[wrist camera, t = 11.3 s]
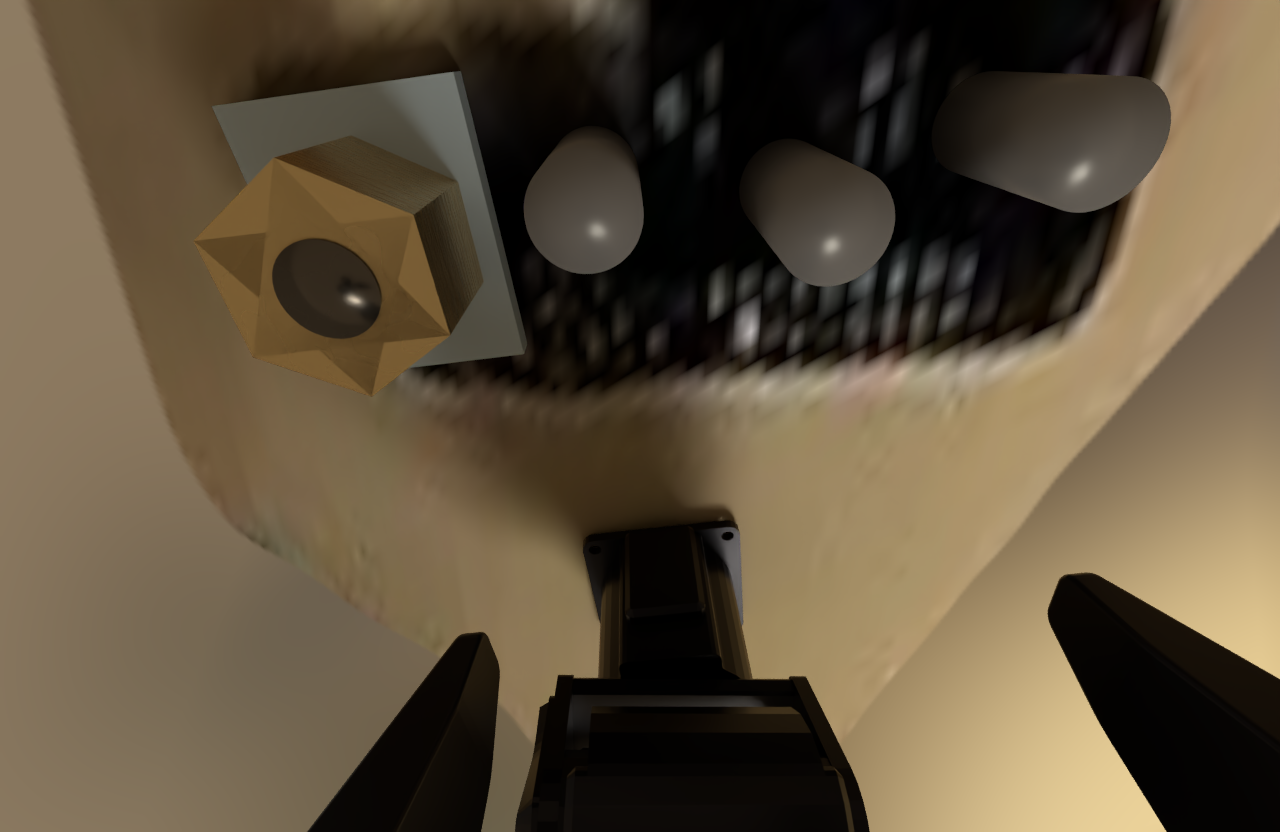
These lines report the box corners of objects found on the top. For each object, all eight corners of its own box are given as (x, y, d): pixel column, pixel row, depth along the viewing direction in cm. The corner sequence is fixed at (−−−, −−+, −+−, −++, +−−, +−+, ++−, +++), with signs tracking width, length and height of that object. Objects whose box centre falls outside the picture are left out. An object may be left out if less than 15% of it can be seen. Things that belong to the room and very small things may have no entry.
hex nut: (495, 325, 18) (465, 387, 15) (342, 342, 19) (277, 407, 15) (443, 124, 15) (390, 143, 12) (260, 146, 15) (156, 172, 12)
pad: (527, 343, 20) (523, 354, 19) (344, 366, 20) (334, 376, 19) (460, 71, 15) (453, 71, 15) (229, 104, 16) (211, 106, 15)
